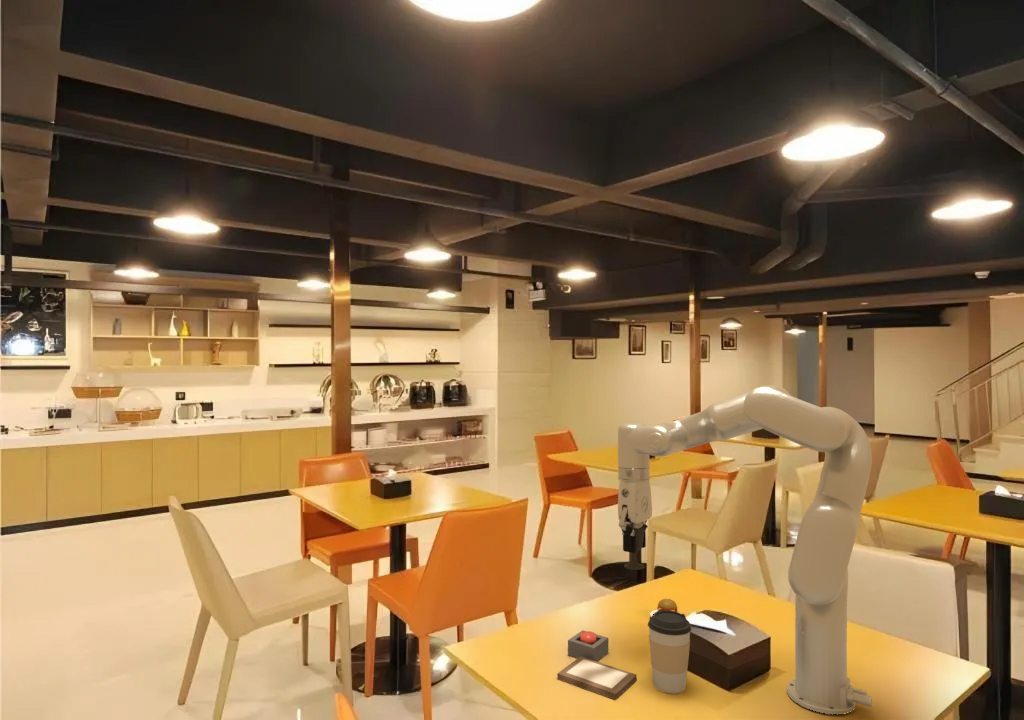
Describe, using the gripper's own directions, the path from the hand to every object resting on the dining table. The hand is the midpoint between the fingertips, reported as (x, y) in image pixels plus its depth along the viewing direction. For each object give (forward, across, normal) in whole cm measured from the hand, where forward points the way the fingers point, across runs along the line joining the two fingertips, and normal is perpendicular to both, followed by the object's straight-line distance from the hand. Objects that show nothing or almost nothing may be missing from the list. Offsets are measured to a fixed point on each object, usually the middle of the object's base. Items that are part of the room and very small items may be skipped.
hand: (634, 548), depth 148 cm
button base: (+24, -10, +8) cm, 27 cm away
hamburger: (+25, +23, +1) cm, 34 cm away
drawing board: (+24, -19, 0) cm, 31 cm away
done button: (+21, -10, +8) cm, 25 cm away
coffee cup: (+24, -12, -13) cm, 30 cm away
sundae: (+5, 0, 0) cm, 5 cm away
